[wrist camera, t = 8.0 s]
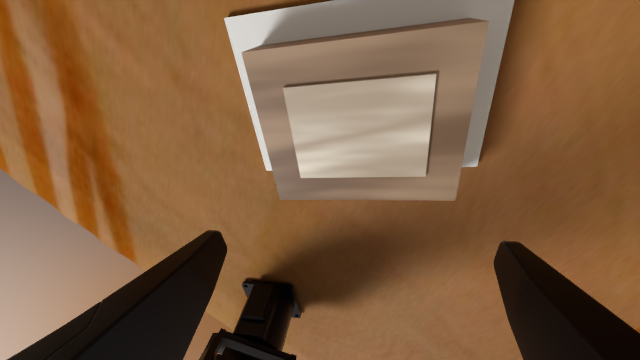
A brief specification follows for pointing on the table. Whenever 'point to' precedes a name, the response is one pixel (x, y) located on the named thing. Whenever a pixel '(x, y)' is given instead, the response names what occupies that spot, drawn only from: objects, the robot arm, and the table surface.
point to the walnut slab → (369, 110)
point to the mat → (367, 15)
